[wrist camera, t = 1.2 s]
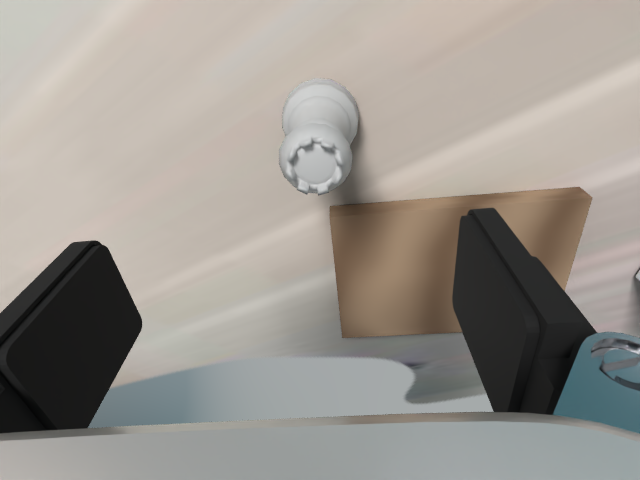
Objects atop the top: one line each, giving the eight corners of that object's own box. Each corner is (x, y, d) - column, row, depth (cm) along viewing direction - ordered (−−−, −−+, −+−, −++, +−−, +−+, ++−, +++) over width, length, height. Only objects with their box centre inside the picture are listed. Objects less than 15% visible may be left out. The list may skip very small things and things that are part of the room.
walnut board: (579, 187, 25) (592, 197, 24) (544, 313, 31) (553, 327, 30) (329, 206, 26) (329, 217, 25) (342, 324, 32) (342, 337, 31)
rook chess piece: (326, 166, 25) (323, 232, 18) (268, 122, 23) (241, 175, 17) (374, 110, 23) (390, 160, 16) (313, 58, 21) (303, 90, 15)
